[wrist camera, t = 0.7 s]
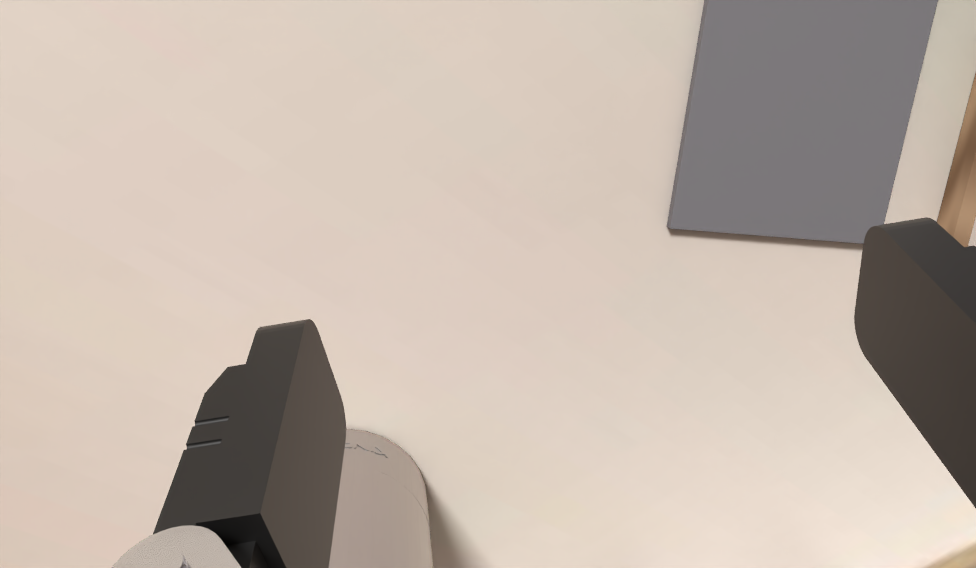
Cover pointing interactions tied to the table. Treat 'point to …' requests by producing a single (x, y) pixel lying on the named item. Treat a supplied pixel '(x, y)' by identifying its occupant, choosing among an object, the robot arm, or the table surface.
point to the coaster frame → (962, 180)
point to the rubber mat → (798, 116)
